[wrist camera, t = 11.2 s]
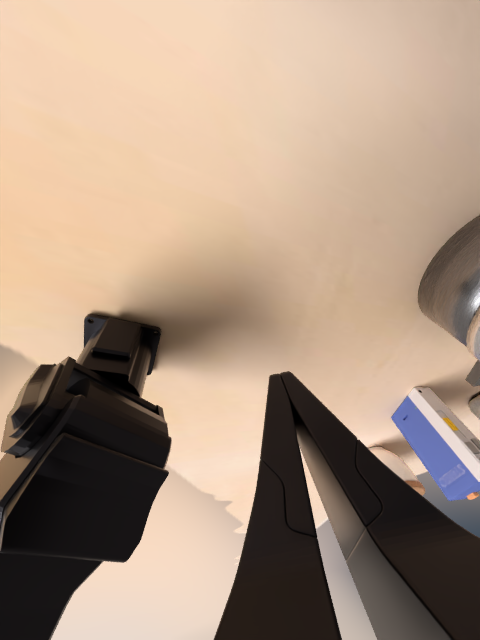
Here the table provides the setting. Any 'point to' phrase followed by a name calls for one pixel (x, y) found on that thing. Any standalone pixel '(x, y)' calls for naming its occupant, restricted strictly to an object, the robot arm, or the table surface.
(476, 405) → the decorative stone
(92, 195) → the table surface
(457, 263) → the cooker pot
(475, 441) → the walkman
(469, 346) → the cooker lid
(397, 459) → the lidded jar
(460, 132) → the table surface
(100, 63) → the table surface
